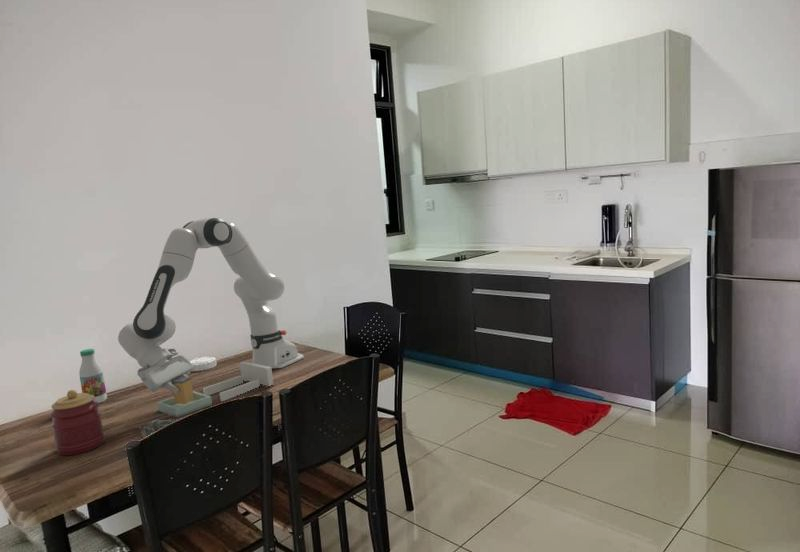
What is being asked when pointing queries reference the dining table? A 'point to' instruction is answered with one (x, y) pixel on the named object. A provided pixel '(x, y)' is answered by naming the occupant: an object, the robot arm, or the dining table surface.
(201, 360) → the mooncake
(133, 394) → the dining table surface
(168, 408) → the tray
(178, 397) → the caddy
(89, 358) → the milk bottle
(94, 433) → the canister
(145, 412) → the dining table surface
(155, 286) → the robot arm
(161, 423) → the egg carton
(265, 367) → the dock
